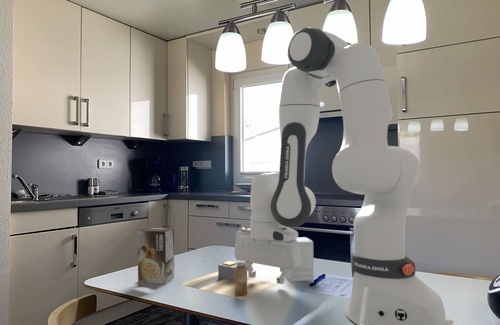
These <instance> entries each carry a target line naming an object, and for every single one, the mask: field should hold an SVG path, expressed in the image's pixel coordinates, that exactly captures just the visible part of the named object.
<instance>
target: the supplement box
mask: <svg viewBox="0 0 500 325" xmlns="http://www.w3.org/2000/svg"><path fill="white" fill-rule="evenodd" d="M295 240H297V241H298V243H299V246H300V253H301V264H300V266H299V267H298V268H296V269H294V270H290V269H288V272H287V274H286V276H285V277H284V278H286V279H287V280H288V281H289V282H291V283H292V282H308V283H314V279H315V276H314V275H315V274H314V273H315V272H314V241H313V240H312V239H310V238H308V237H305V236H303V237H299V236H298V238H297V239H295Z"/></svg>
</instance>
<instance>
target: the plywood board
mask: <svg viewBox="0 0 500 325" xmlns="http://www.w3.org/2000/svg"><path fill="white" fill-rule="evenodd" d="M180 285H182V286H185V287H190V288H195V289H198V290H203V291H206V292H210V293H213V294H214V293H215V294H217V295H221V296H226V297H230V298H233V299H237V300H241V301H244V300H246V299H247V300H248V298H251V297H253V296H255V295H257V294H258V293H259V294H260V293H261V292H263V291H265V290H267V289H270V288H272V287H273V286H276V285H277V282H270V281H265V280H261V279H257V278H249V277H247V295H246V296H236V295H235V282H233V281H229V280H224V279H220V278H218V271H215V272H212V273H209V274H206V275H203V276H201V277H198V278H194V279H191V280H190V281H186V282H183V283H181V284H180Z"/></svg>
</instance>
